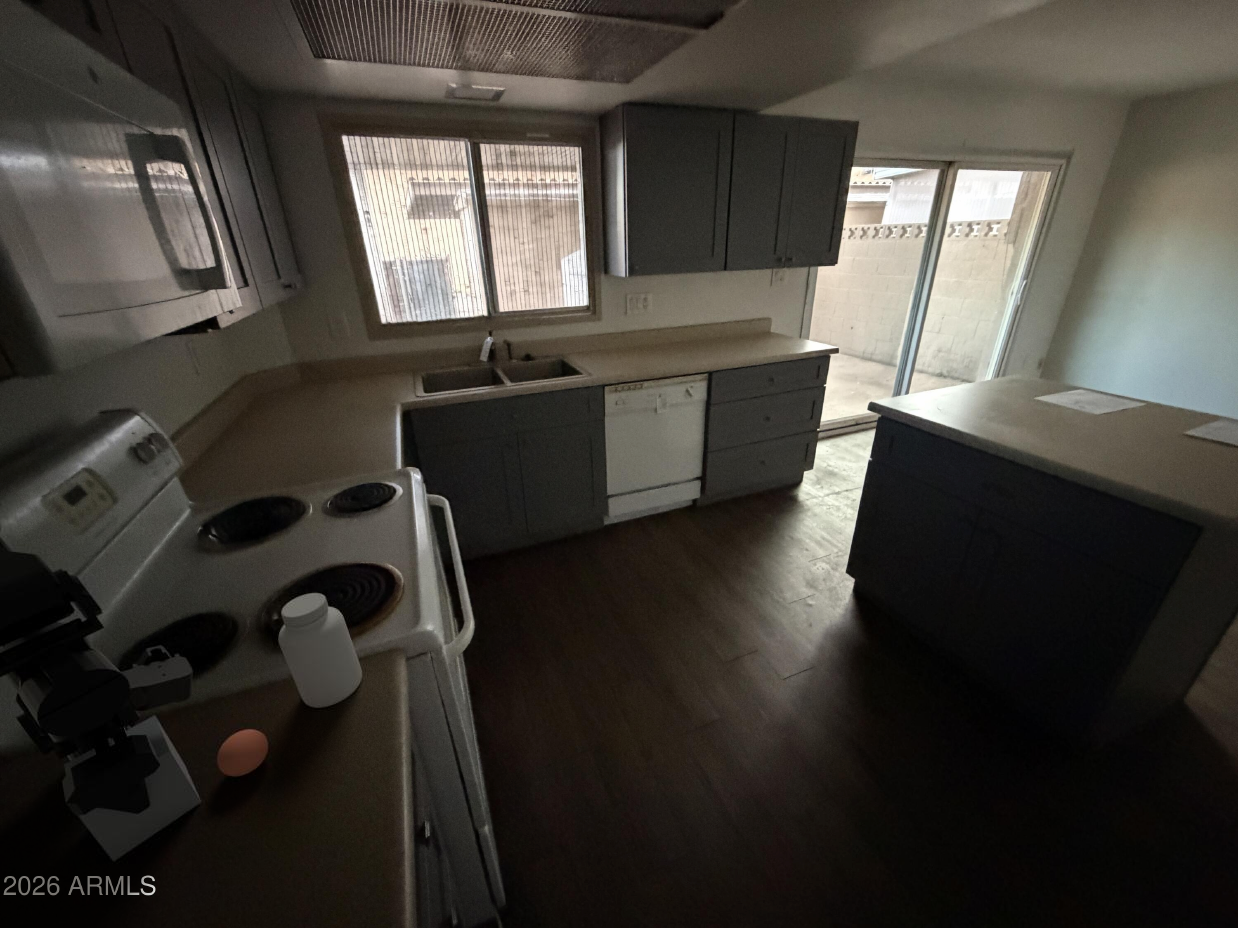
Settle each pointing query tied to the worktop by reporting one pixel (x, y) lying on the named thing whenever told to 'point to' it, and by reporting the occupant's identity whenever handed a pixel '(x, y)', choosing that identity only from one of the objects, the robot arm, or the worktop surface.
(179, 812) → the grey cube
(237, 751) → the ball
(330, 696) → the pill bottle
